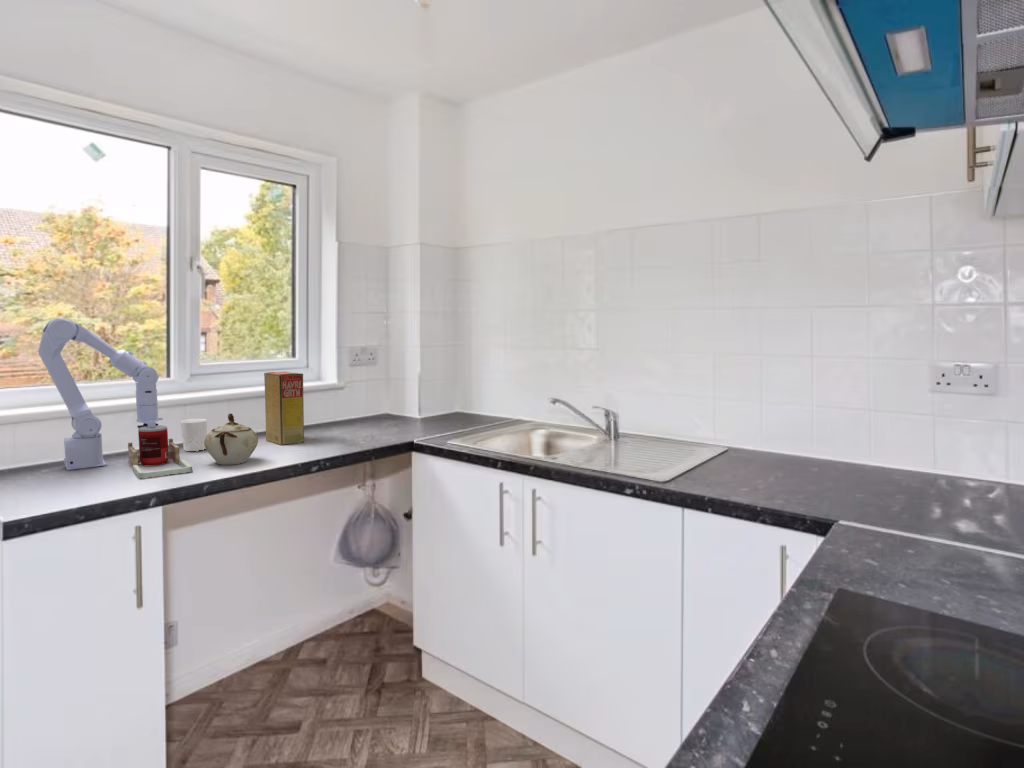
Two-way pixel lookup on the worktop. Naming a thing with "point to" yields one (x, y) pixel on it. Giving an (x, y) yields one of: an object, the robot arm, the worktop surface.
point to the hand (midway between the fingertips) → (149, 447)
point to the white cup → (194, 434)
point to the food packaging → (284, 407)
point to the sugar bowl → (231, 443)
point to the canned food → (153, 445)
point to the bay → (164, 472)
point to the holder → (173, 451)
